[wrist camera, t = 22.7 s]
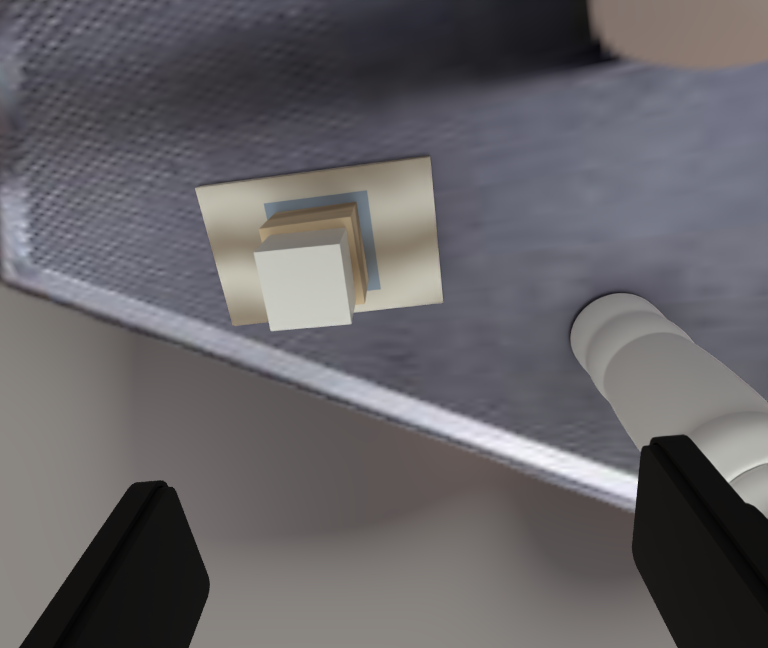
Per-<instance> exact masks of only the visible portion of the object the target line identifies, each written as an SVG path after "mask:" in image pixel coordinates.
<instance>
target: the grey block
mask: <svg viewBox="0 0 768 648" xmlns="http://www.w3.org/2000/svg"><path fill="white" fill-rule="evenodd" d="M254 257H255V261H256V266H257V270H258V275H259V280H260V284H261V289H262V293H263V298H264V302H265V307H266V312H267V316H268V321H269V325H270V330H271V331H278V330H289V329H300V328H312V327H323V326H335V325H346V324H352V319H353V314H354V309H355V304H356V294H355V287H354V280H353V272H352V265H351V258H350V251H349V244H348V236H347V229H346V227H344V228H334V229H324V230H314V231H304V232H294V233H284V234H274V235H269V236H268V237H267V238H266V239H265V241H264V242H263V243H262V244H261V245H260V246H259V247H258V248H257V249H256V250H255V251H254Z"/></svg>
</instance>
